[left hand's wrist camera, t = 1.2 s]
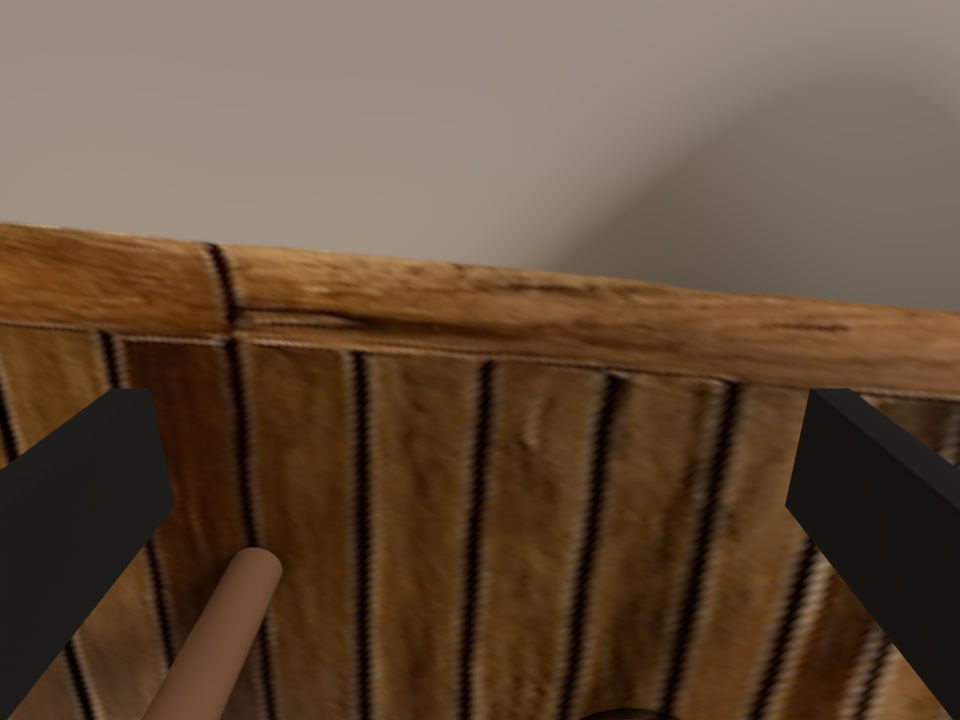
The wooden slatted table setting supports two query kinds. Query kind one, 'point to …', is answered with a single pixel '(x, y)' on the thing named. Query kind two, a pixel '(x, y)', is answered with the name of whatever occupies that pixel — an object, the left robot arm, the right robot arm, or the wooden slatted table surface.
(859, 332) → the wooden slatted table surface
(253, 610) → the brown long cylinder
